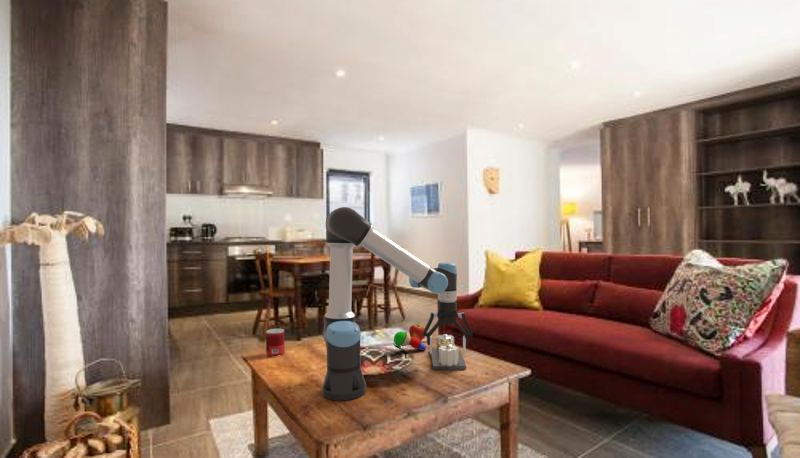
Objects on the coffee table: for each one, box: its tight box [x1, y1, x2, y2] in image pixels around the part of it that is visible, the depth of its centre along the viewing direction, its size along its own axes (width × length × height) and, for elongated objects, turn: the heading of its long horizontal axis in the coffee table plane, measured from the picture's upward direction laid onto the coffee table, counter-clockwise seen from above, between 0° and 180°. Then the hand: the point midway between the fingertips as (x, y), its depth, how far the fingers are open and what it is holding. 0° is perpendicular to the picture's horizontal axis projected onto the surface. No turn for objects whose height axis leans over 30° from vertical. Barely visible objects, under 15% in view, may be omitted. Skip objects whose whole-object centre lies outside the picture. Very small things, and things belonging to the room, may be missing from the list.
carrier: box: [430, 333, 467, 371], centre depth 173 cm, size 13×25×8 cm, turn 178°
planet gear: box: [439, 345, 459, 366], centre depth 165 cm, size 8×8×6 cm
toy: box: [392, 331, 427, 352], centre depth 186 cm, size 8×8×15 cm
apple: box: [408, 323, 426, 342], centre depth 202 cm, size 8×8×10 cm
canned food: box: [265, 328, 285, 357], centre depth 185 cm, size 8×8×11 cm
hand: (447, 353), depth 165 cm, fingers open, 13 cm apart
